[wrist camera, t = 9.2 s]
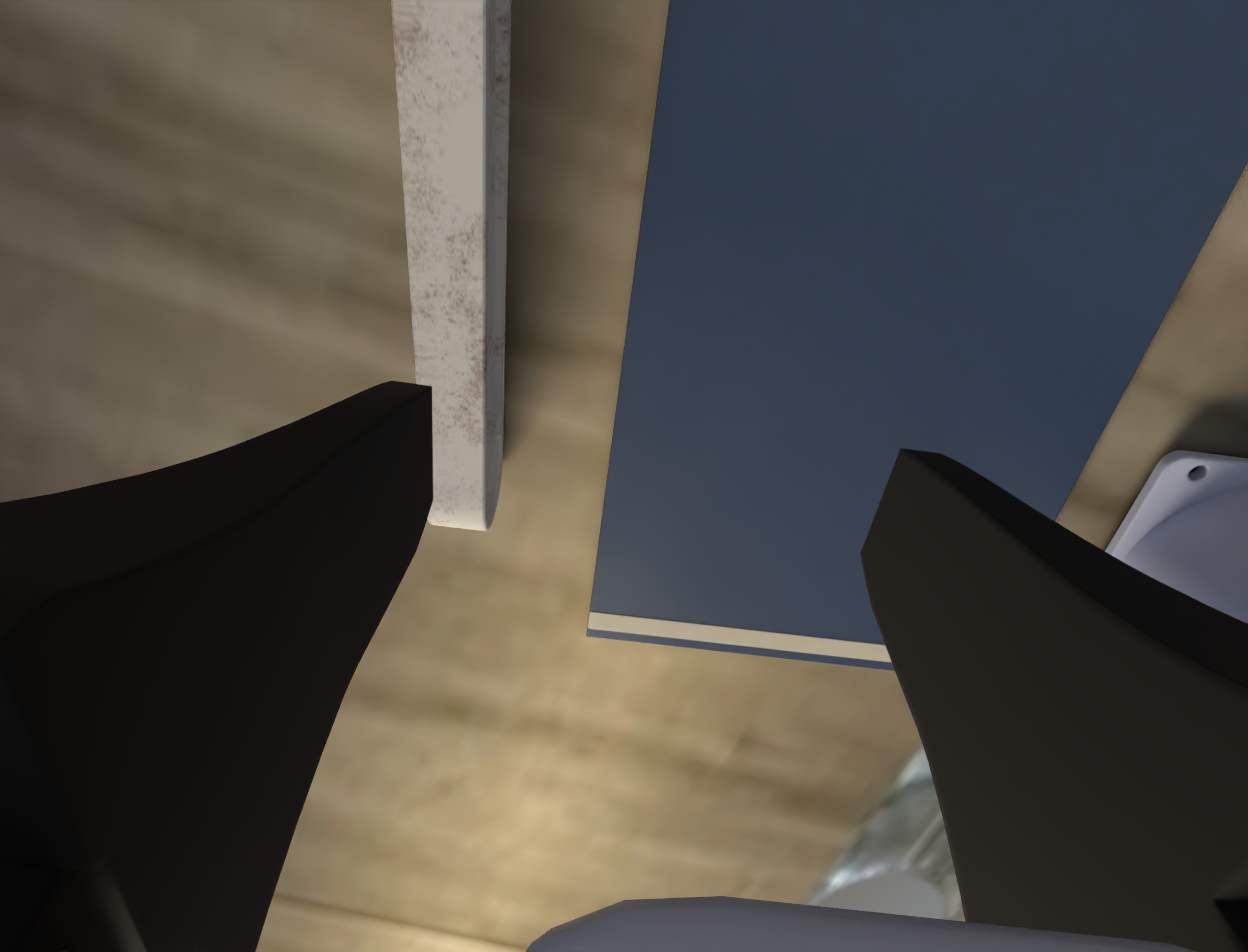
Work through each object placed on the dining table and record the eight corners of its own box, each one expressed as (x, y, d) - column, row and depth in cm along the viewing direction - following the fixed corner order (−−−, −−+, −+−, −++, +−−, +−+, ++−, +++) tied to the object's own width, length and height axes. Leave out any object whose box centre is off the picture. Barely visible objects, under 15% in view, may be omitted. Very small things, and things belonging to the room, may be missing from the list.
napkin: (2049, -1354, 8) (2082, -1386, 8) (967, 675, 26) (969, 679, 26) (883, -1635, 8) (890, -1676, 8) (586, 632, 25) (586, 637, 25)
